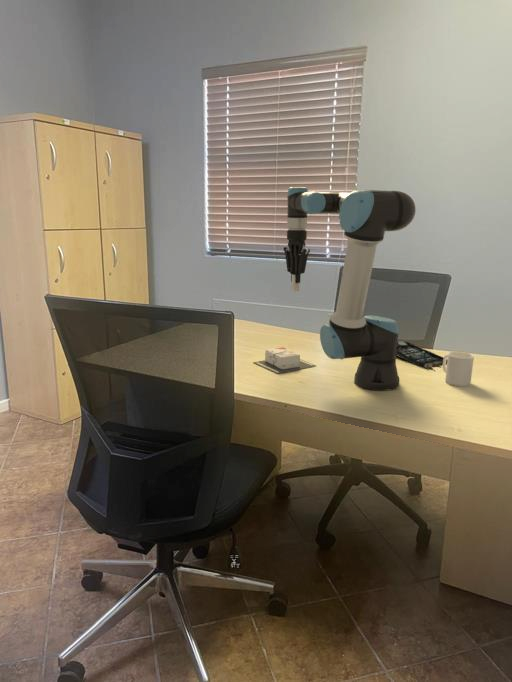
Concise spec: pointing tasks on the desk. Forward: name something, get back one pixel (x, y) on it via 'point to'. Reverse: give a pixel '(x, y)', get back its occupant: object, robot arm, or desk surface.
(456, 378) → the cup
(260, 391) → the desk surface
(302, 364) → the mat
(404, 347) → the building model
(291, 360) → the ink box
